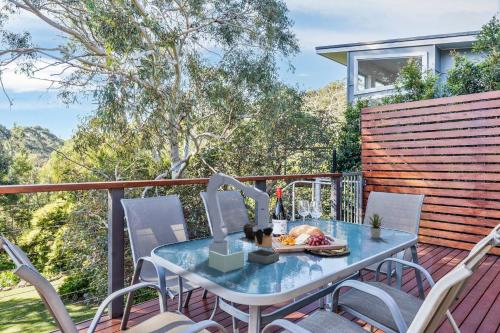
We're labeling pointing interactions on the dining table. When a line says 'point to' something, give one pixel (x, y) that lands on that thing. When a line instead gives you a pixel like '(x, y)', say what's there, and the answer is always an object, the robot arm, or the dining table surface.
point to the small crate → (264, 241)
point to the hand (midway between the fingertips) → (263, 243)
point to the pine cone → (249, 231)
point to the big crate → (263, 256)
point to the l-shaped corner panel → (226, 261)
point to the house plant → (375, 226)
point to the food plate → (332, 252)
